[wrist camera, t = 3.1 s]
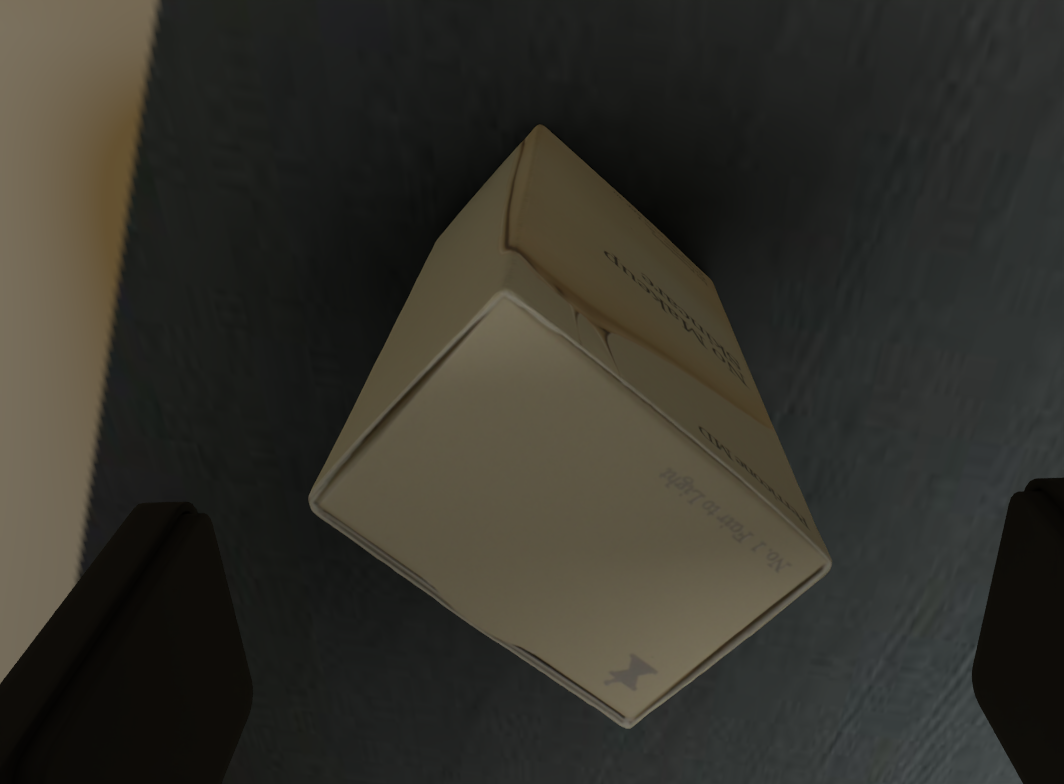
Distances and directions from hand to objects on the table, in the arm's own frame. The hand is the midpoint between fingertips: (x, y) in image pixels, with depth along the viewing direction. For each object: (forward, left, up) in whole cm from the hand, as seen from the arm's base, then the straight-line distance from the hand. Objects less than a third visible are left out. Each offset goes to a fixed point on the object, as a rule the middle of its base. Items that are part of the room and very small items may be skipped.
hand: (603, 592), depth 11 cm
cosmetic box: (0, 0, -14) cm, 14 cm away
